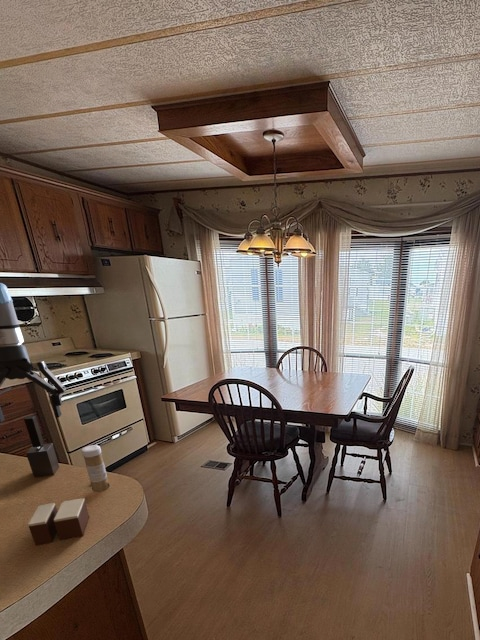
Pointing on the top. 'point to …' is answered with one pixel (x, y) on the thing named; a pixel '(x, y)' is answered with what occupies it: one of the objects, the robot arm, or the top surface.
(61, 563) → the top surface
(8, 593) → the top surface
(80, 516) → the cake
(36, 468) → the knife block
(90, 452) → the sprinkles bottle
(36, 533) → the cake slice
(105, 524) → the top surface
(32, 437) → the knife
